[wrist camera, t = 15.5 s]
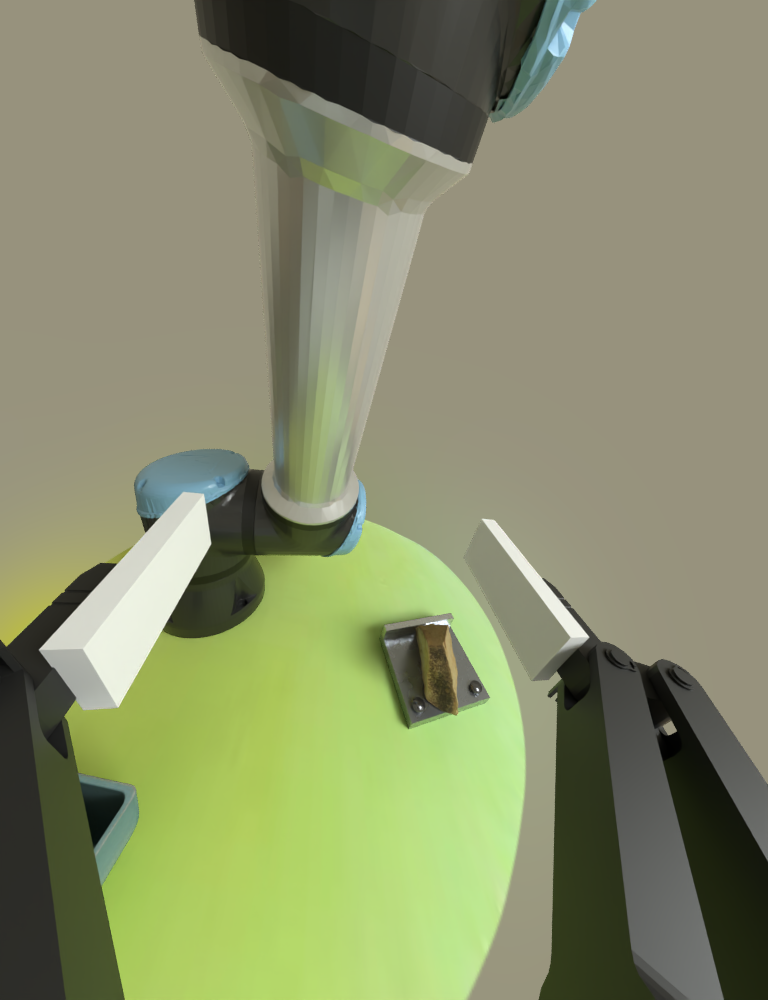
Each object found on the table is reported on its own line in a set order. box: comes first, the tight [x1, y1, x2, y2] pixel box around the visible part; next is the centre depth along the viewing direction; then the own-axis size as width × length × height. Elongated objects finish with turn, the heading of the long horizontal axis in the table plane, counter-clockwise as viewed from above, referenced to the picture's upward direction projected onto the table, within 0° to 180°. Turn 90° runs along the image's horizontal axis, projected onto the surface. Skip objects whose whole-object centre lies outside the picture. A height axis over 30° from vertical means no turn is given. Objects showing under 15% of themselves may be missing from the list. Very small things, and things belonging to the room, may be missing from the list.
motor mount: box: [380, 613, 490, 729], centre depth 40 cm, size 12×12×4 cm
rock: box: [416, 623, 458, 715], centre depth 38 cm, size 11×9×10 cm
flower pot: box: [78, 773, 139, 886], centre depth 19 cm, size 9×9×9 cm
